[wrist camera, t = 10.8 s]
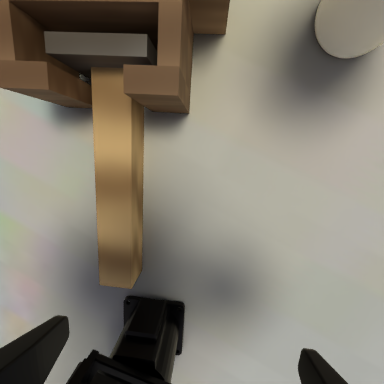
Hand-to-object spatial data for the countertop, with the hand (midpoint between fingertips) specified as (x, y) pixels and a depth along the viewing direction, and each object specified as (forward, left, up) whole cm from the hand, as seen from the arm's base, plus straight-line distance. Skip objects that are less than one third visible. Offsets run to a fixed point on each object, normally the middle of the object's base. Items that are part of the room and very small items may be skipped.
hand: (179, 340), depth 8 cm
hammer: (+3, +7, -12) cm, 14 cm away
